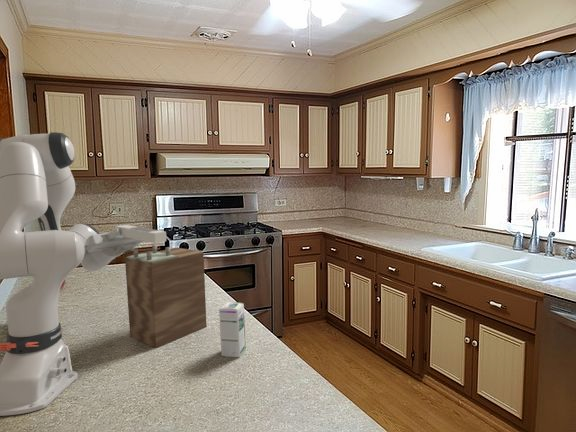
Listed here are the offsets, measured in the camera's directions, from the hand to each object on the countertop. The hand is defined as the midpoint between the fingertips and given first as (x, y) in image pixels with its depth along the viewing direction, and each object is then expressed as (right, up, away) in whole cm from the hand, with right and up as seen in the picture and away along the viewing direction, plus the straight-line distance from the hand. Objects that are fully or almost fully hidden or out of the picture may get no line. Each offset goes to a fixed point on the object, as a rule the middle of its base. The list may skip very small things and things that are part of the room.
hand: (127, 229), depth 139 cm
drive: (+6, -3, -4) cm, 8 cm away
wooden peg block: (+14, -34, 0) cm, 37 cm away
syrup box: (+37, -36, -16) cm, 54 cm away
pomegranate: (-52, -29, +49) cm, 77 cm away
